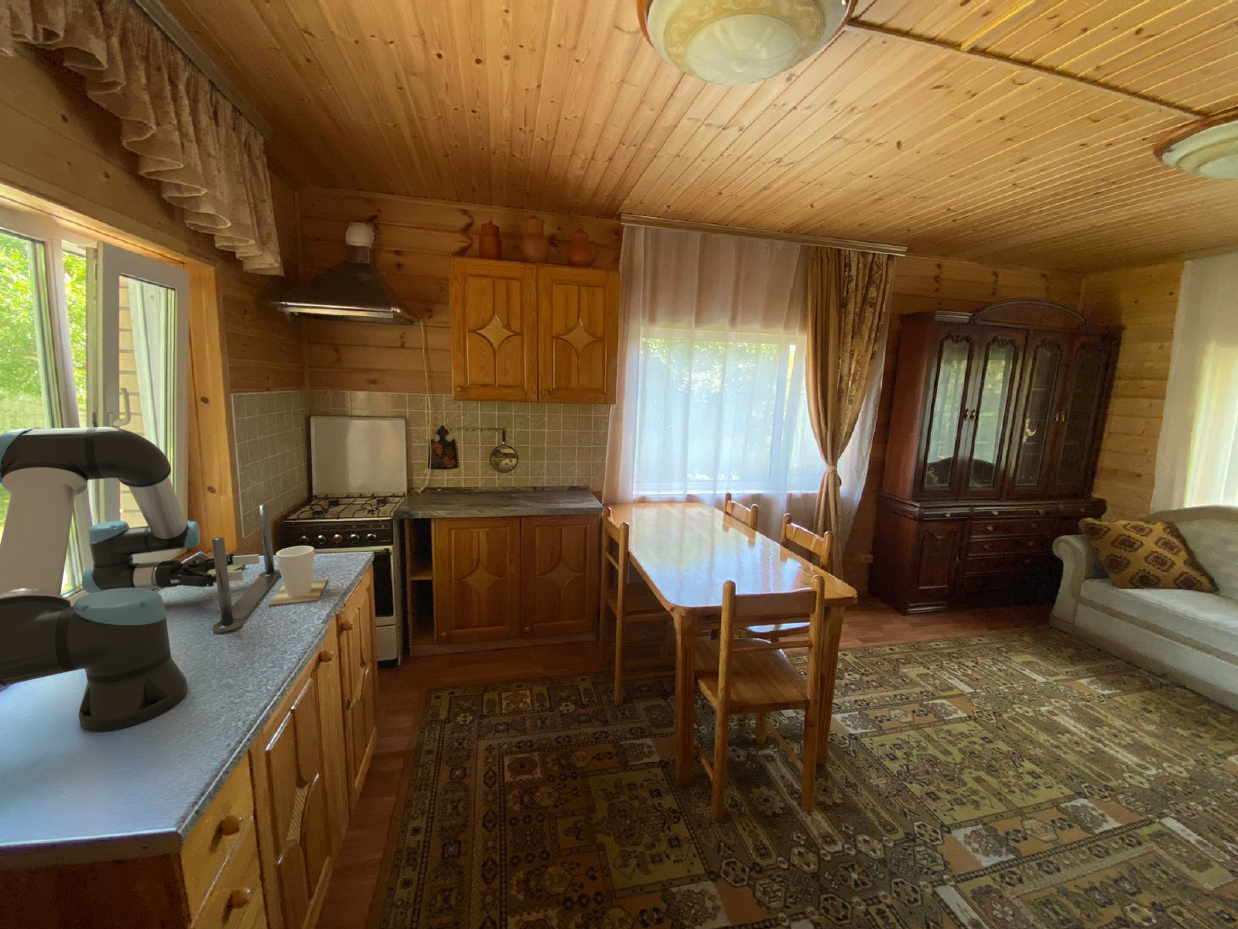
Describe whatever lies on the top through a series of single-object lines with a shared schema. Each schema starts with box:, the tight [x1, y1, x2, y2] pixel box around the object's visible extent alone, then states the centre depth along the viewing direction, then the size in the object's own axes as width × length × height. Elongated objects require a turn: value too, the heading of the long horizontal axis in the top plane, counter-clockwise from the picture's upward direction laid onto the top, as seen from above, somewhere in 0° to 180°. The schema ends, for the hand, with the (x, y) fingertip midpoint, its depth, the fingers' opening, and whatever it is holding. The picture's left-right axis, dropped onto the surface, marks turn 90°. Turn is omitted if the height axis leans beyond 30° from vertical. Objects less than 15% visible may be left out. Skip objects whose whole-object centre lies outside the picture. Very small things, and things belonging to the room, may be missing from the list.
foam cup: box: [275, 545, 315, 597], centre depth 146 cm, size 10×9×13 cm
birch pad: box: [268, 578, 329, 607], centre depth 148 cm, size 16×12×1 cm
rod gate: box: [211, 503, 282, 635], centre depth 141 cm, size 42×6×24 cm, turn 21°
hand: (251, 566), depth 144 cm, fingers open, 13 cm apart
